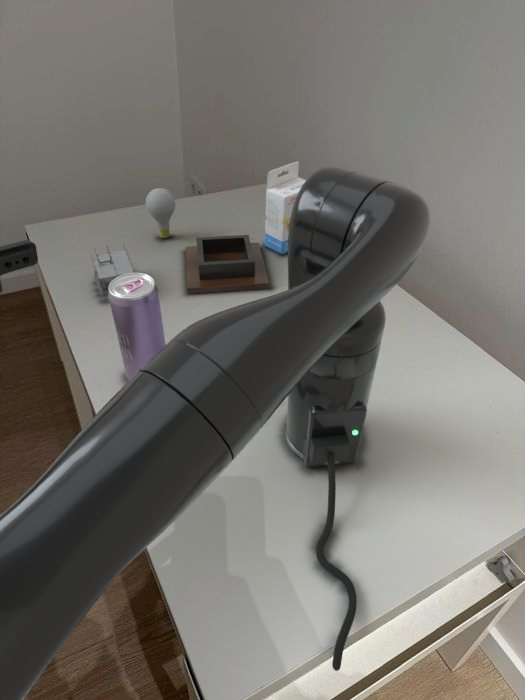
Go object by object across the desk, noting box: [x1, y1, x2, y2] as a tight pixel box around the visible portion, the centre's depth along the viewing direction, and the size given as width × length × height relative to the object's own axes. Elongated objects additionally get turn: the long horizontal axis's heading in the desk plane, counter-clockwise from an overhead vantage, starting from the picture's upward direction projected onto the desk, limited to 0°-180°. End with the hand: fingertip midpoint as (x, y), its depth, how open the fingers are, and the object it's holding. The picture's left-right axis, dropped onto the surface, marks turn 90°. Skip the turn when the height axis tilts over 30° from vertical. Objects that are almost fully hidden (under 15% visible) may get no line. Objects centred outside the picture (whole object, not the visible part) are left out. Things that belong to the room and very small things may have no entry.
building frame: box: [90, 241, 135, 302], centre depth 87 cm, size 6×8×6 cm
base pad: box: [184, 234, 270, 295], centre depth 92 cm, size 14×14×4 cm
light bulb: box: [145, 187, 176, 239], centre depth 99 cm, size 6×6×10 cm
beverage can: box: [107, 272, 167, 381], centre depth 68 cm, size 6×6×15 cm
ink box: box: [264, 160, 307, 256], centre depth 96 cm, size 8×5×15 cm, turn 134°
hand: (10, 234), depth 48 cm, fingers open, 8 cm apart
